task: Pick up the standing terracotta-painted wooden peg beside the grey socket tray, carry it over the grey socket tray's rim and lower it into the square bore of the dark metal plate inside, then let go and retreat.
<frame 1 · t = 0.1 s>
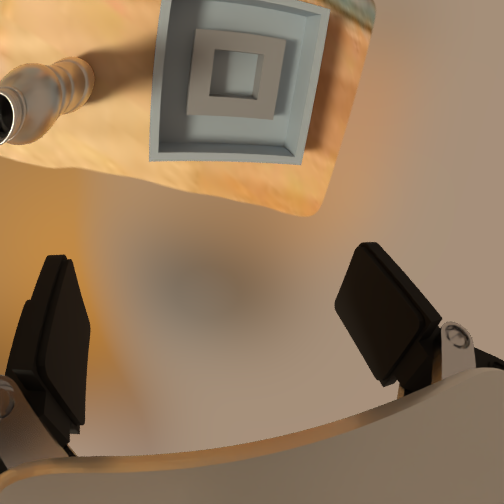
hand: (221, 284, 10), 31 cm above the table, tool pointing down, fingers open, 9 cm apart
plastic bottle: (73, 83, 28), on the table
grey socket tray: (230, 72, 33), on the table
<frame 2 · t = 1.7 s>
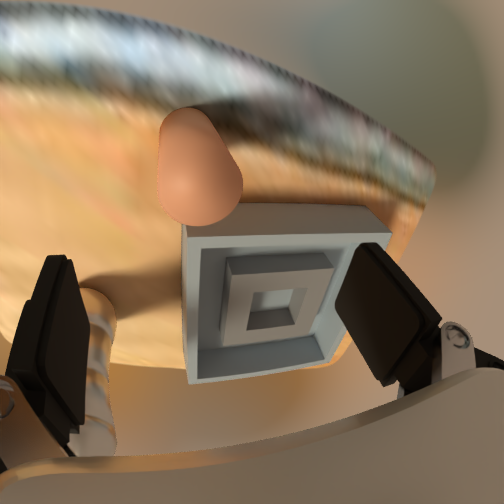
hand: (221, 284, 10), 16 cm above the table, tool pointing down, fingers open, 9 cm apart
plastic bottle: (88, 301, 29), on the table
peg: (186, 133, 22), on the table
grey socket tray: (266, 286, 34), on the table
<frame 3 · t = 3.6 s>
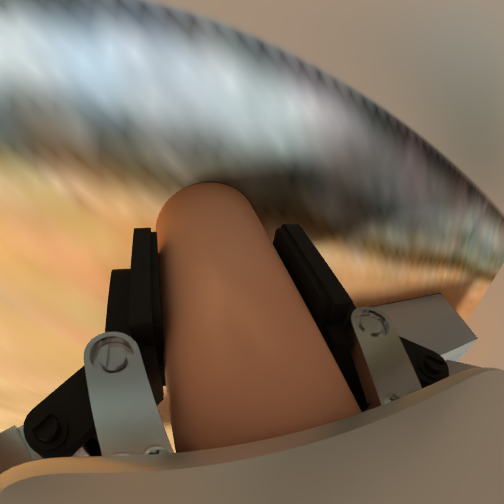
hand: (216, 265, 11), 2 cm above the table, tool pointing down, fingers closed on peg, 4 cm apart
peg: (206, 228, 12), on the table, touching gripper
grey socket tray: (308, 392, 24), on the table
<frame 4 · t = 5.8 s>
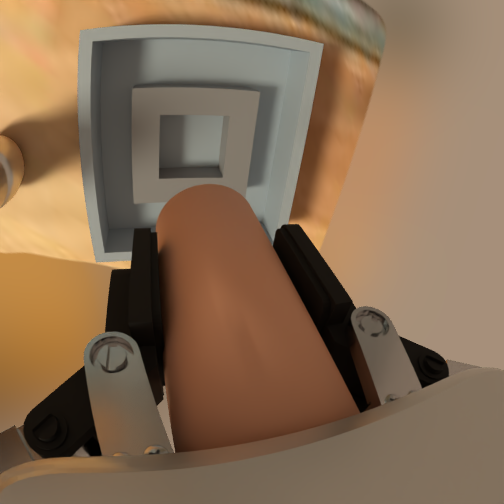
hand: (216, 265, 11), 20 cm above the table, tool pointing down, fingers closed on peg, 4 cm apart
plastic bottle: (5, 161, 22), on the table
peg: (206, 230, 12), point 18 cm above the table, touching gripper
grey socket tray: (189, 136, 27), on the table
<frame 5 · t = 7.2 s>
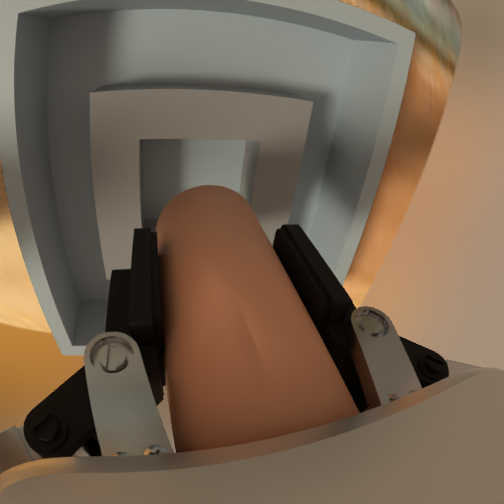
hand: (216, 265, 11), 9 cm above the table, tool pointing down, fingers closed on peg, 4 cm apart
peg: (206, 231, 12), point 7 cm above the table, touching gripper
grey socket tray: (190, 168, 17), on the table
when the fingers open (4 cm above the table, at t = 8.4 s): peg stays where it is, resting on grey socket tray.
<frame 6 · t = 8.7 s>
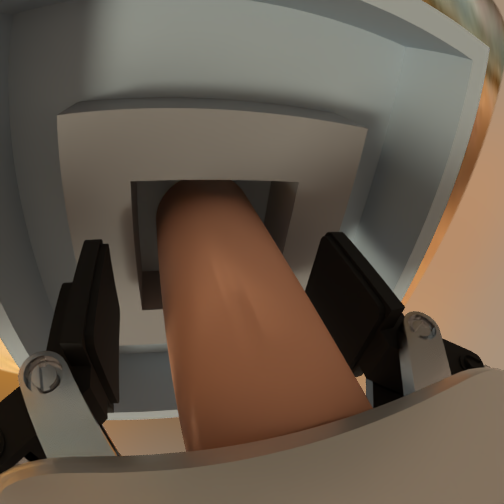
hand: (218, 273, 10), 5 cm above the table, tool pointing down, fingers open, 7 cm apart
peg: (203, 217, 13), point 1 cm above the table, touching grey socket tray
grey socket tray: (200, 206, 14), on the table
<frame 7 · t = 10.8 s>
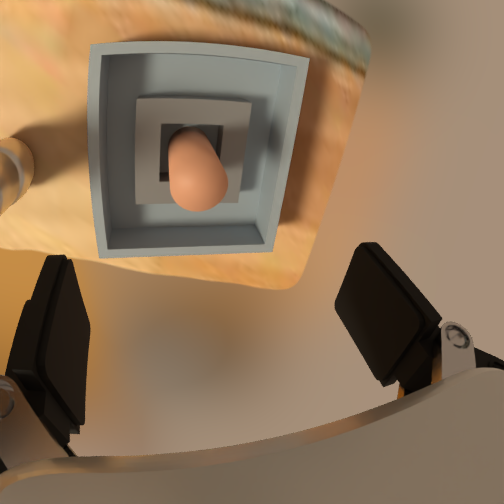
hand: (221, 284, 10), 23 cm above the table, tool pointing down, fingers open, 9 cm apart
plastic bottle: (15, 162, 25), on the table
peg: (188, 146, 29), point 1 cm above the table, touching grey socket tray
grey socket tray: (187, 143, 29), on the table
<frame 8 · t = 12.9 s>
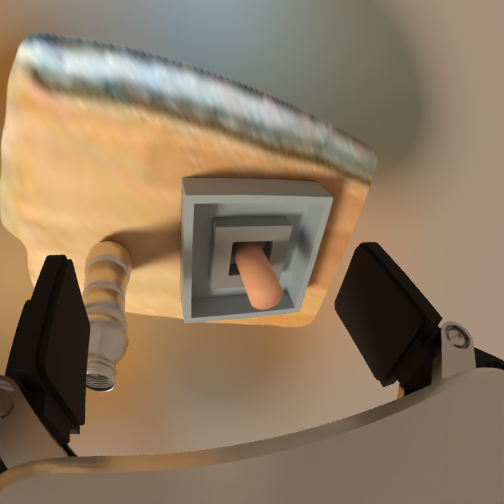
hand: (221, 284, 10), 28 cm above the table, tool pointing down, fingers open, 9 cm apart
plastic bottle: (110, 254, 40), on the table
peg: (246, 247, 44), point 1 cm above the table, touching grey socket tray
grey socket tray: (244, 243, 45), on the table
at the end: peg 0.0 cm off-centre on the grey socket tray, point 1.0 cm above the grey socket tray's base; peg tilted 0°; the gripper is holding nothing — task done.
